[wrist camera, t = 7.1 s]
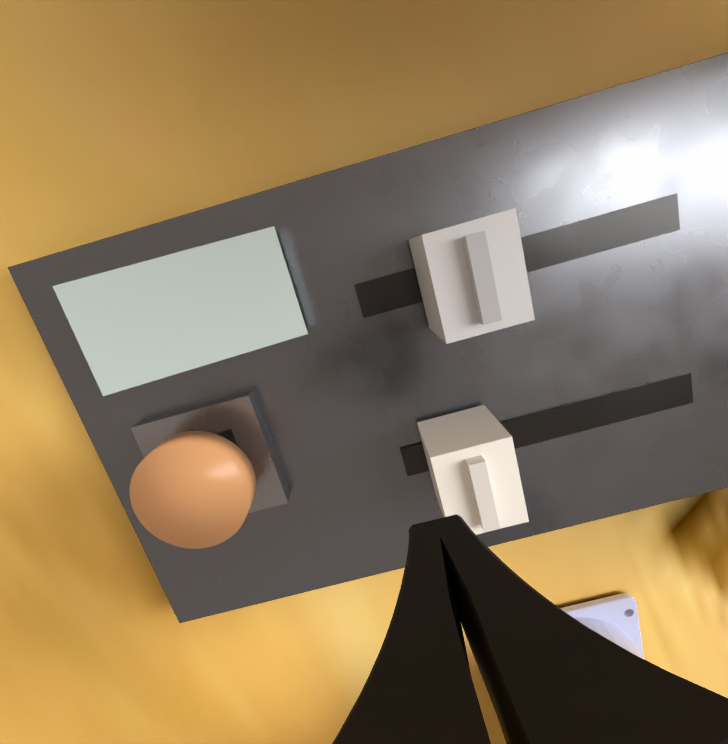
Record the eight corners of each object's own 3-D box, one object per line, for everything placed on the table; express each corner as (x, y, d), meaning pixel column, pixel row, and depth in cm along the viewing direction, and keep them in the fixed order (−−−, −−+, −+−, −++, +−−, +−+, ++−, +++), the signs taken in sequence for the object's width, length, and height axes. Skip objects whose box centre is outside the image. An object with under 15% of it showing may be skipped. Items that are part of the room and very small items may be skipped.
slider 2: (499, 476, 19) (534, 529, 15) (435, 493, 19) (454, 549, 16) (483, 404, 18) (517, 442, 15) (416, 422, 18) (432, 464, 15)
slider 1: (500, 308, 17) (541, 322, 14) (429, 328, 17) (449, 346, 14) (483, 218, 16) (521, 205, 13) (408, 239, 17) (424, 233, 13)
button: (274, 504, 18) (264, 532, 16) (178, 528, 18) (157, 560, 16) (239, 411, 17) (224, 430, 15) (137, 438, 17) (109, 461, 15)
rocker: (306, 330, 17) (308, 333, 16) (115, 388, 16) (103, 396, 15) (274, 230, 16) (274, 226, 15) (69, 285, 15) (52, 286, 14)
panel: (755, 458, 21) (801, 481, 19) (190, 599, 23) (173, 636, 21) (740, 57, 17) (798, 26, 14) (35, 266, 18) (-9, 267, 16)
